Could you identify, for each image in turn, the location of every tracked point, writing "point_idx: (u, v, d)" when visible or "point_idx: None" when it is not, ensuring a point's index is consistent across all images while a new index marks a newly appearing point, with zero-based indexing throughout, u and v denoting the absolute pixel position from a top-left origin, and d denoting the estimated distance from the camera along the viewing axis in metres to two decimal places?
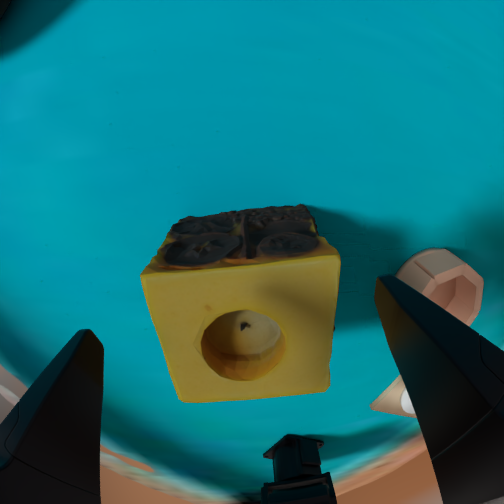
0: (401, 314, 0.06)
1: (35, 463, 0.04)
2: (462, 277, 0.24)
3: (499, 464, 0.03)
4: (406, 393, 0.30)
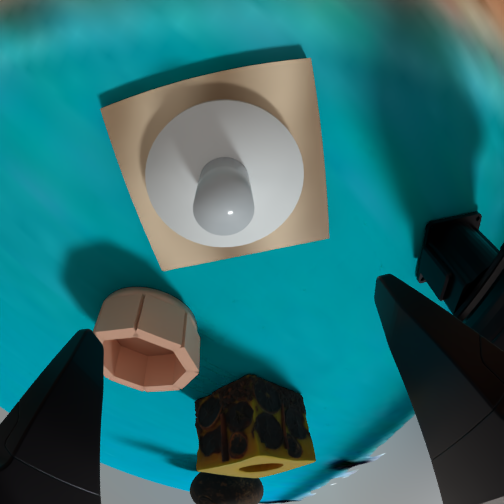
0: (401, 314, 0.06)
1: (35, 462, 0.04)
2: None
3: (499, 464, 0.03)
4: (262, 236, 0.19)
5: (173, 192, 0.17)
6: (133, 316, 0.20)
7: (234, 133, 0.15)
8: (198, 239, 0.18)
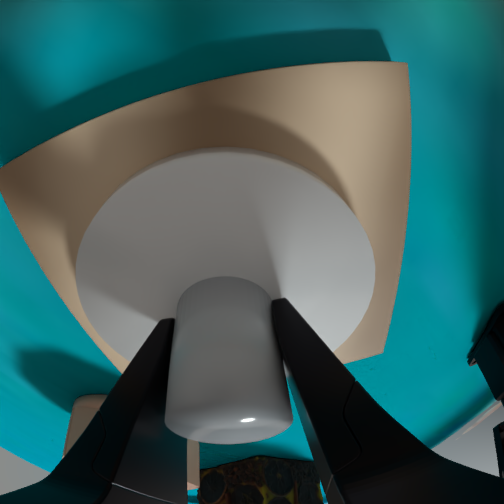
0: (279, 344, 0.07)
1: (133, 484, 0.04)
2: None
3: None
4: None
5: (133, 327, 0.09)
6: None
7: (244, 231, 0.07)
8: None
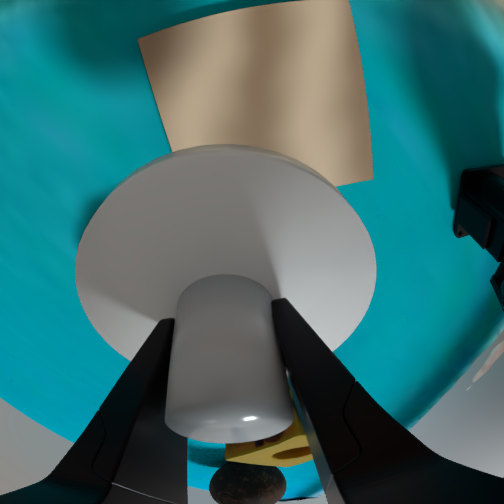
0: (279, 344, 0.07)
1: (134, 484, 0.04)
2: None
3: None
4: None
5: (133, 326, 0.09)
6: None
7: (245, 229, 0.07)
8: None
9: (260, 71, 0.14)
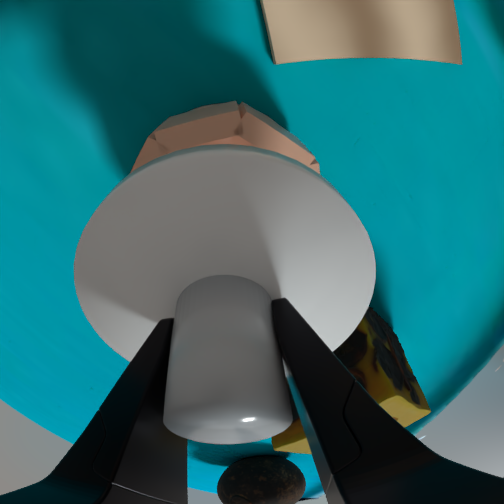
0: (279, 344, 0.07)
1: (133, 484, 0.04)
2: None
3: None
4: None
5: (132, 326, 0.09)
6: (232, 108, 0.11)
7: (244, 229, 0.07)
8: None
9: None
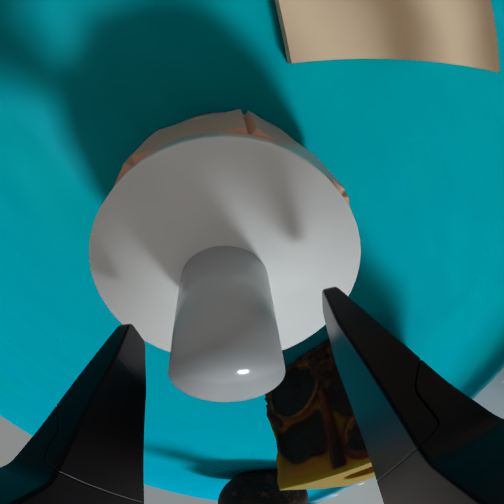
0: (338, 331, 0.07)
1: (80, 475, 0.04)
2: None
3: None
4: None
5: (140, 298, 0.10)
6: (236, 121, 0.09)
7: (241, 204, 0.08)
8: None
9: None
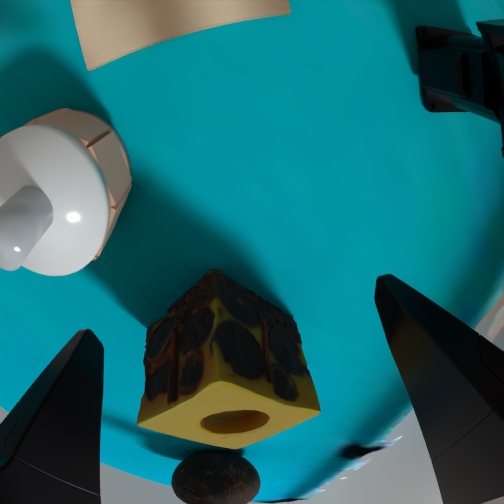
0: (401, 314, 0.06)
1: (35, 462, 0.04)
2: None
3: (499, 464, 0.03)
4: (86, 263, 0.15)
5: None
6: (40, 117, 0.12)
7: (27, 160, 0.11)
8: (35, 268, 0.15)
9: None
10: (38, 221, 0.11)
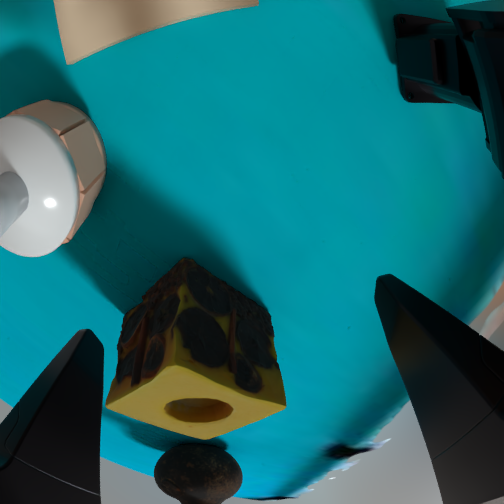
0: (401, 314, 0.06)
1: (35, 463, 0.04)
2: None
3: (499, 464, 0.03)
4: (58, 245, 0.15)
5: None
6: (21, 108, 0.12)
7: (7, 148, 0.11)
8: (13, 249, 0.15)
9: None
10: (13, 204, 0.11)
